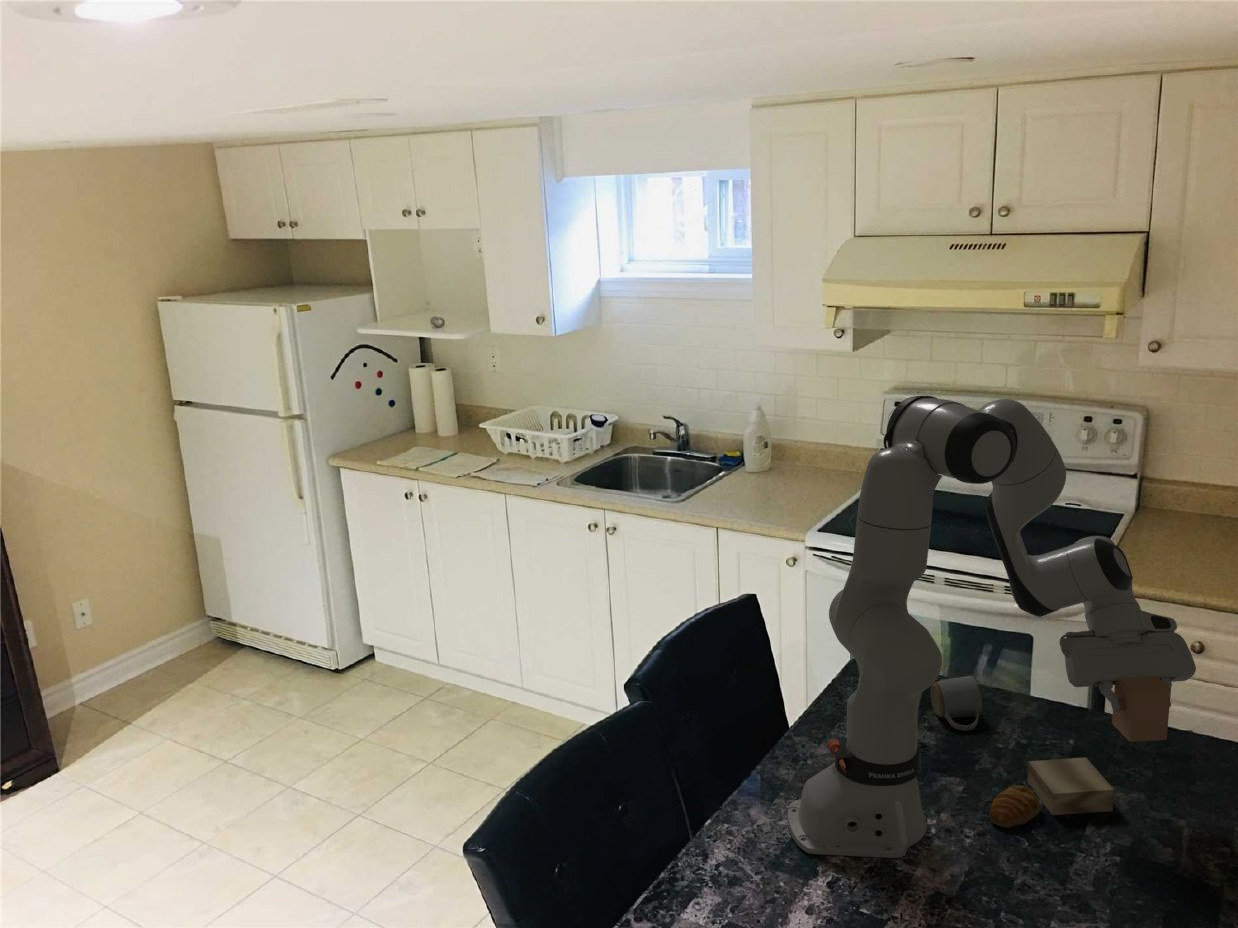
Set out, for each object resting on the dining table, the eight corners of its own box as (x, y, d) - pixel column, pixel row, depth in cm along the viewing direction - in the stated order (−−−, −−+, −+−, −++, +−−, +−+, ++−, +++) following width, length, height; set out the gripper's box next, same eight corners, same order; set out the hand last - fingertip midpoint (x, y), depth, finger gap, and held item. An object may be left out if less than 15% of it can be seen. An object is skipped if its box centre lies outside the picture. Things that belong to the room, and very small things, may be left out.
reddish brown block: (1129, 741, 168) (1133, 691, 166) (1111, 723, 174) (1115, 674, 172) (1166, 739, 168) (1171, 688, 166) (1147, 721, 174) (1151, 672, 172)
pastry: (1017, 837, 166) (1017, 816, 165) (978, 820, 171) (978, 800, 170) (1044, 811, 173) (1045, 791, 172) (1005, 796, 177) (1006, 776, 176)
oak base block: (1052, 815, 171) (1053, 793, 170) (1027, 781, 181) (1028, 761, 180) (1112, 810, 171) (1114, 789, 170) (1084, 777, 181) (1085, 757, 180)
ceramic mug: (927, 707, 208) (928, 672, 206) (968, 703, 208) (969, 669, 206) (947, 734, 198) (948, 698, 196) (989, 730, 198) (990, 694, 196)
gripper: (1063, 625, 173) (1086, 706, 166) (1184, 618, 174) (1213, 699, 167) (1050, 639, 179) (1072, 718, 172) (1168, 632, 179) (1194, 711, 172)
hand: (1142, 708), depth 169 cm, fingers closed on reddish brown block, 6 cm apart
